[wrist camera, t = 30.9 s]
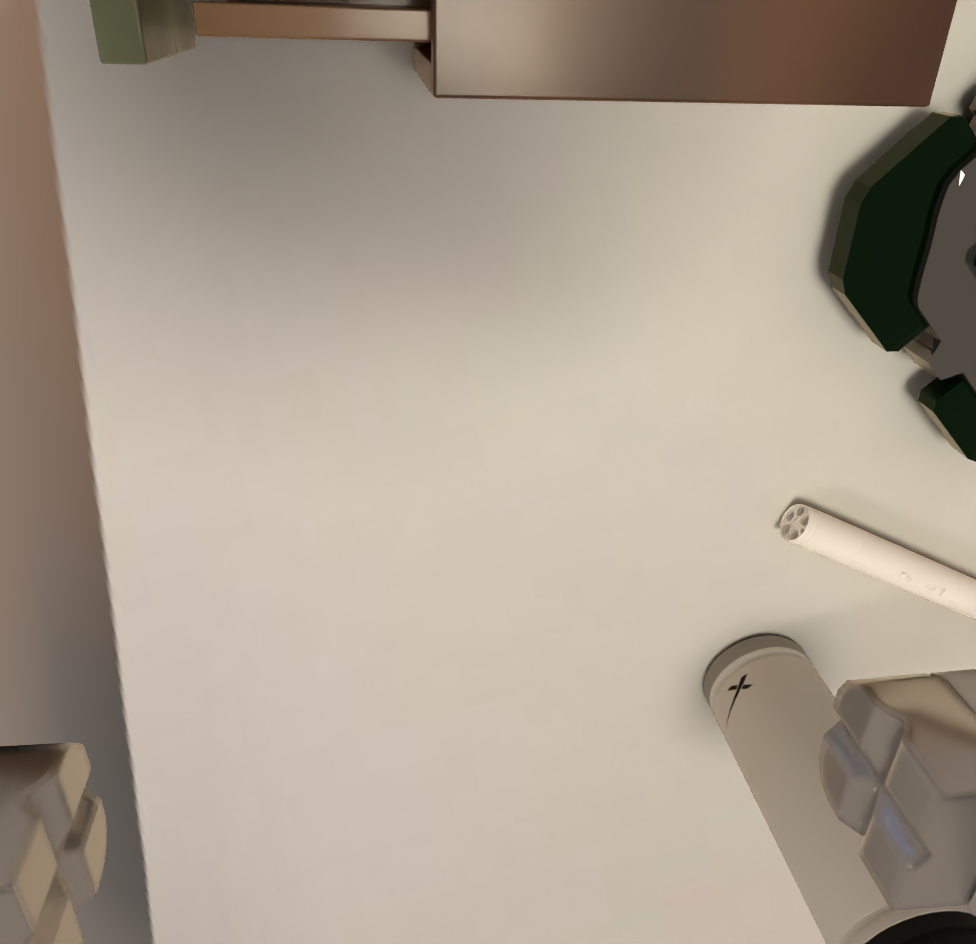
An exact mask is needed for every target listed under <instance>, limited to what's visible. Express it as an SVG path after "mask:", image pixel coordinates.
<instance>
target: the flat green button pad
mask: <svg viewBox="0 0 976 944" xmlns="http://www.w3.org/2000/svg"><path fill="white" fill-rule="evenodd" d="M969 109H970V110H971V112H972V114H973V118H972V120H971V122H970V124H969V123H968V121H967V120H966V118H965V116H961V115H956V114H951V113H946V112H932V113H931V114H930V115H929V116H928V117H927V118H925V119H924V120H923V121H922V122H921V123H920V124H919V125H918V126H916V127H915V128H914V129H913V130H912V131H911V132H910V133H908V134H907V135H906V136H905V137H904V138H903V139H902V140H901V141H899V142H898V143H897V144H896V145H895V146H894V147H893V148H892V149H890V150H889V151H888V152H887V153H886V154H885V155H884V156H883V157H881V158H880V159H879V160H878V161H877V162H876V163H875V164H874V165H872V166H871V167H870V168H869V169H868V170H867V171H866V172H865V173H863V174H862V175H861V176H860V177H859V178H858V179H857V180H856V181H855V182H854V184H853V186H852V187H851V189H850V191H849V192H848V194H847V196H846V197H845V201H844V206H843V210H842V214H841V219H840V223H839V228H838V232H837V236H836V241H835V245H834V249H833V254H832V258H831V262H830V267H829V277H830V283H831V287H832V288H833V290H834V291H835V292H836V294H837V295H838V296H839V298H840V299H841V300H842V302H843V303H844V305H845V306H846V307H847V309H848V310H849V311H850V313H851V314H852V315H853V317H854V318H855V319H856V321H857V322H858V323H859V325H860V326H861V327H862V329H863V330H864V331H865V333H866V334H867V335H868V337H869V338H870V339H871V341H872V342H873V343H875V344H876V345H878V346H879V347H881V348H882V349H884V350H885V351H899V350H900V349H902V348H904V349H905V351H906V352H907V353H908V355H909V356H910V357H911V359H912V360H913V362H914V363H916V364H917V365H919V366H920V367H922V368H923V369H925V370H926V371H928V372H929V373H931V374H932V375H934V376H935V377H937V378H936V379H934V380H933V381H932V382H931V383H929V384H928V385H927V386H925V387H924V388H923V389H922V390H921V392H920V395H919V399H918V401H919V403H920V404H921V405H922V407H923V408H924V410H925V411H926V412H927V414H928V415H929V416H930V418H931V419H932V420H933V422H934V423H935V424H936V426H937V427H938V428H939V430H940V431H941V432H942V434H943V435H944V436H945V438H946V439H947V441H948V442H949V443H950V445H951V446H952V447H953V448H955V449H956V450H957V451H958V452H960V453H961V454H962V455H964V456H965V457H966V458H968V459H970V460H973V461H975V462H976V96H975V98H974V100H973V102H972V104H971V106H970V107H969Z"/></svg>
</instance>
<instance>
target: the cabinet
mask: <svg viewBox="0 0 976 944" xmlns="http://www.w3.org/2000/svg"><path fill="white" fill-rule="evenodd" d="M956 3H957V0H431V42H413V63H414V70H415V71H416V73H417V74H418V76H419V77H420V78H421V80H422V81H423V83H424V84H425V85H426V87H427V88H428V90H429V91H430V92H431V94H432V95H433V96H434V97H436V98H466V99H522V100H577V101H633V102H688V103H744V104H799V105H855V106H910V107H926V106H928V105H929V104H930V100H931V96H932V92H933V89H934V85H935V81H936V77H937V74H938V70H939V66H940V62H941V59H942V55H943V51H944V48H945V44H946V40H947V36H948V33H949V29H950V25H951V21H952V18H953V14H954V10H955V6H956Z"/></svg>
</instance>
